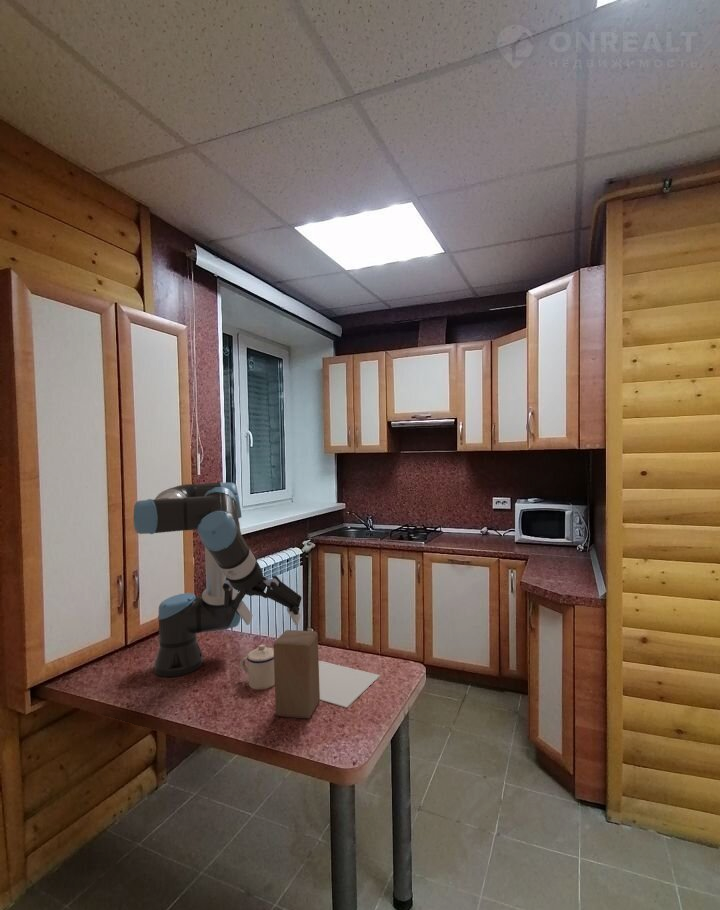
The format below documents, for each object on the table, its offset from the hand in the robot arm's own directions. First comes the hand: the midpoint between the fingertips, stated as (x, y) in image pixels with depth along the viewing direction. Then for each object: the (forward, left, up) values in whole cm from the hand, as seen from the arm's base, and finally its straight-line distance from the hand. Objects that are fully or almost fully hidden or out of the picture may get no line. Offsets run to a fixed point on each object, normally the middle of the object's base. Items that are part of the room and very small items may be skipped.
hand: (273, 620), depth 117 cm
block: (-1, +10, -28) cm, 30 cm away
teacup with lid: (-21, +16, -28) cm, 38 cm away
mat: (-1, +26, -28) cm, 38 cm away
